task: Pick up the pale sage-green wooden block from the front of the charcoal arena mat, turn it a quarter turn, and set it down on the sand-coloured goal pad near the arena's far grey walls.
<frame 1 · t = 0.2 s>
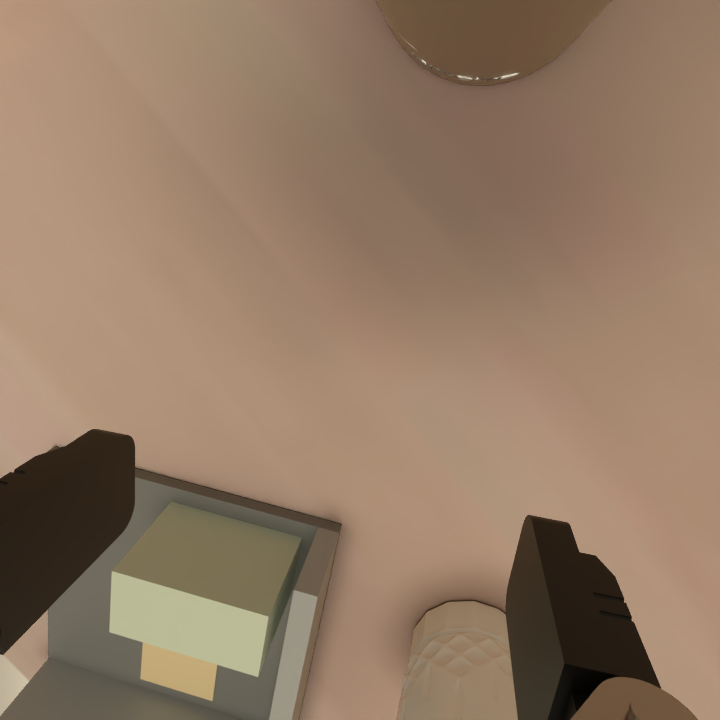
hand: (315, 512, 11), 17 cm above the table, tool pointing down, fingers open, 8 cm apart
white cup: (468, 641, 34), on the table
sage block: (232, 546, 33), point 1 cm above the table, touching arena
arena: (183, 600, 36), on the table
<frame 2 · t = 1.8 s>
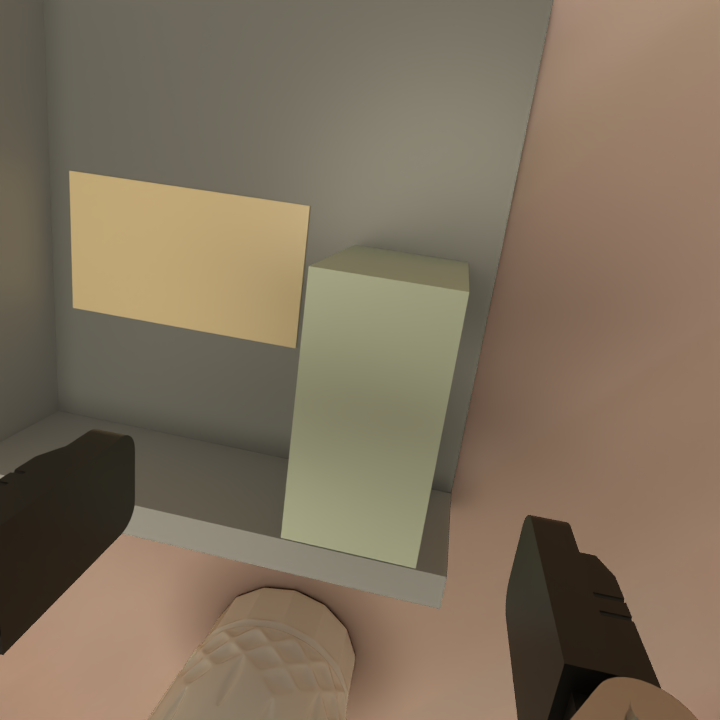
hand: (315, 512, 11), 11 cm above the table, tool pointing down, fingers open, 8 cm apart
white cup: (286, 642, 27), on the table
sage block: (393, 362, 21), point 1 cm above the table, touching arena
arena: (251, 253, 21), on the table
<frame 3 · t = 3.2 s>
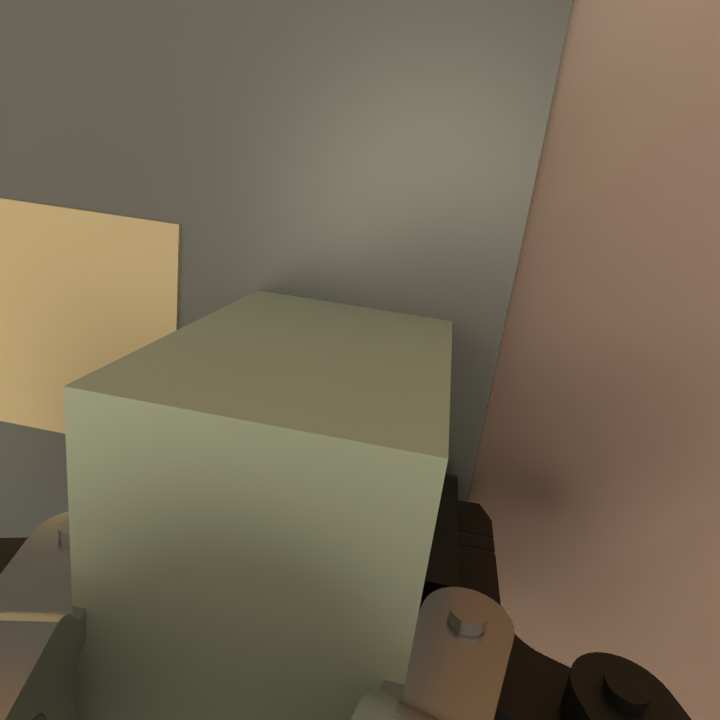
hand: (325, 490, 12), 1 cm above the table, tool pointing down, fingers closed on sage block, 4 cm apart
sage block: (331, 480, 12), point 1 cm above the table, touching arena, gripper
arena: (101, 300, 13), on the table
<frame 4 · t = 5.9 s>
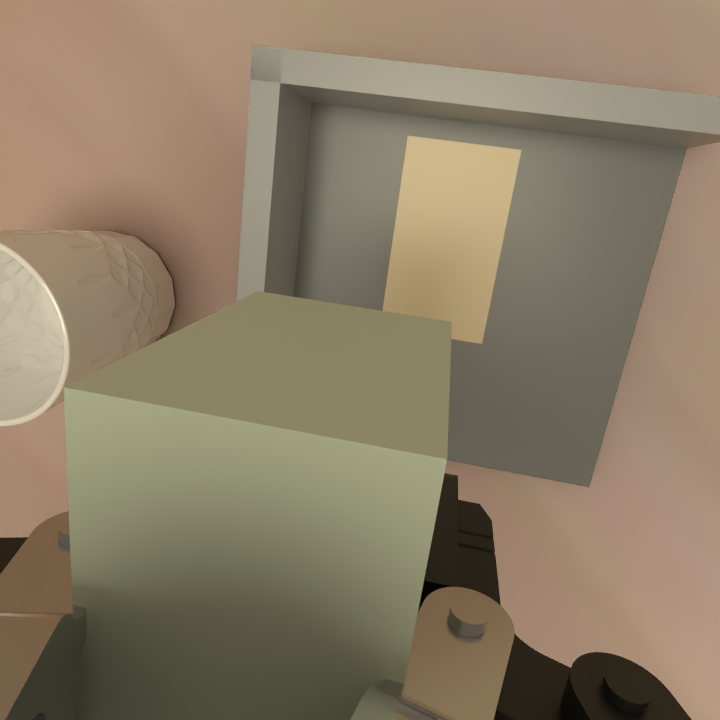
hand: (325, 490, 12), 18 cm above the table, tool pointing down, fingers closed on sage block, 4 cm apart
white cup: (122, 291, 32), on the table
sage block: (331, 480, 12), point 18 cm above the table, touching gripper
arena: (448, 289, 28), on the table
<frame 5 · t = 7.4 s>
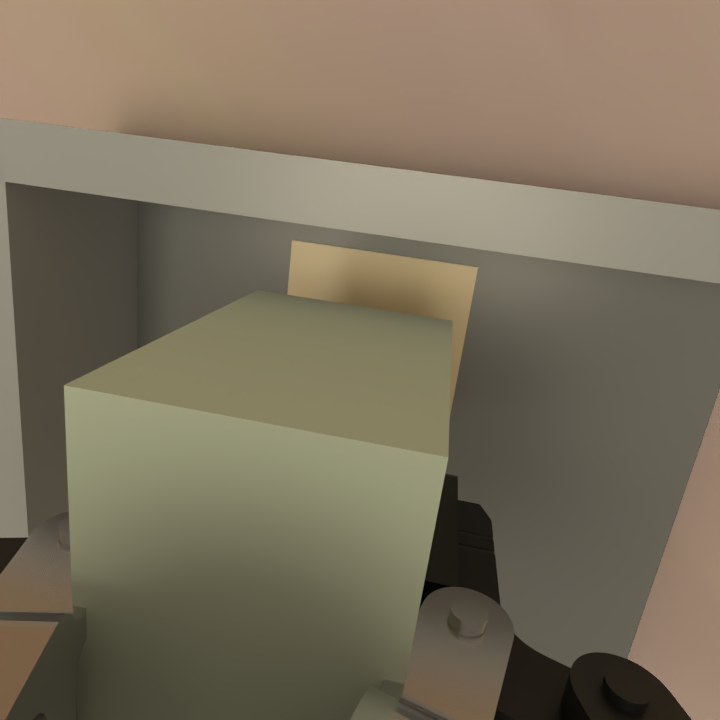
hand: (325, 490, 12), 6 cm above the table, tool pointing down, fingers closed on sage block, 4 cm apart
sage block: (331, 480, 12), point 5 cm above the table, touching gripper
arena: (372, 464, 18), on the table
when the fingers open (3 cm above the table, at t = 8.4 s): sage block drops 1 cm, resting on arena.
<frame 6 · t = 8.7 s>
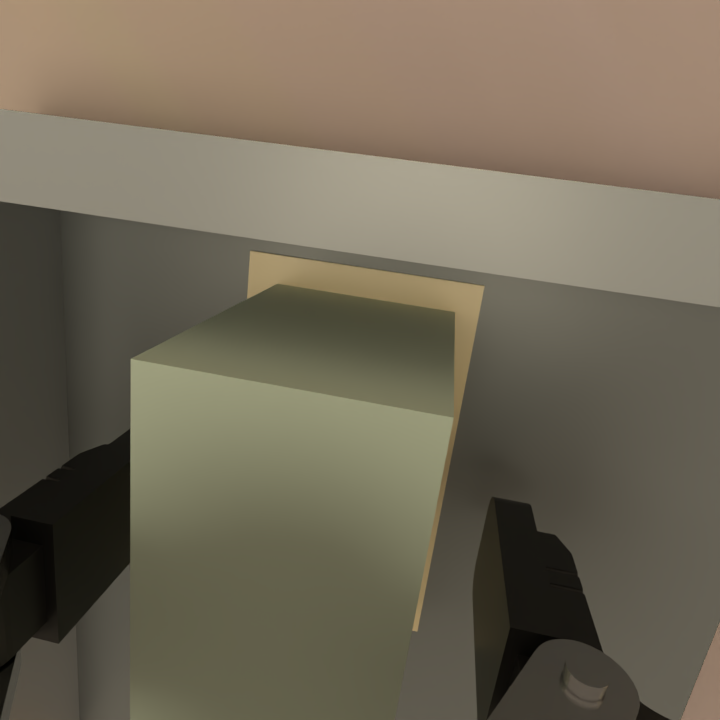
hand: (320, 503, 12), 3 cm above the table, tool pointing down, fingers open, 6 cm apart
sage block: (343, 458, 14), point 1 cm above the table, touching arena
arena: (355, 521, 15), on the table
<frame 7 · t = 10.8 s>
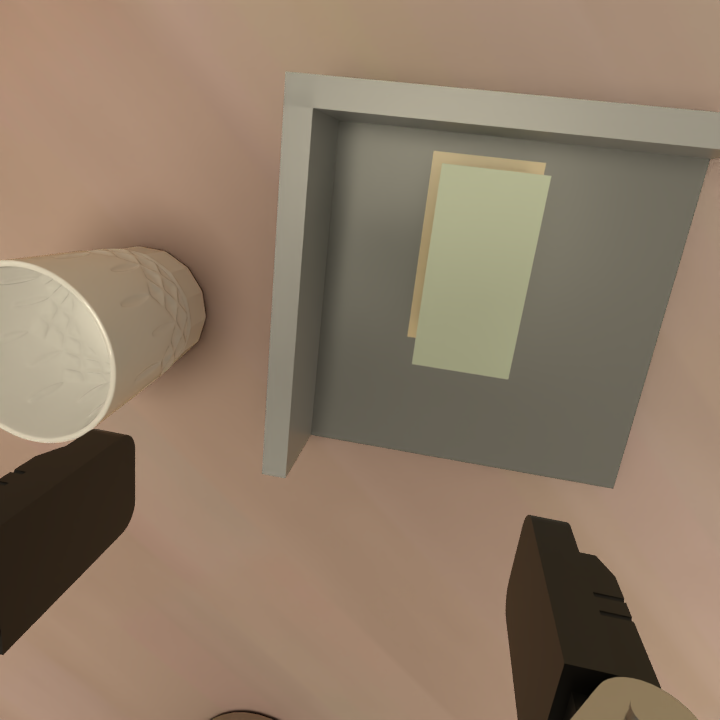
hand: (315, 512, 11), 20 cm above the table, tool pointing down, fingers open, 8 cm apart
white cup: (153, 304, 33), on the table
sage block: (473, 256, 28), point 1 cm above the table, touching arena
arena: (473, 298, 29), on the table
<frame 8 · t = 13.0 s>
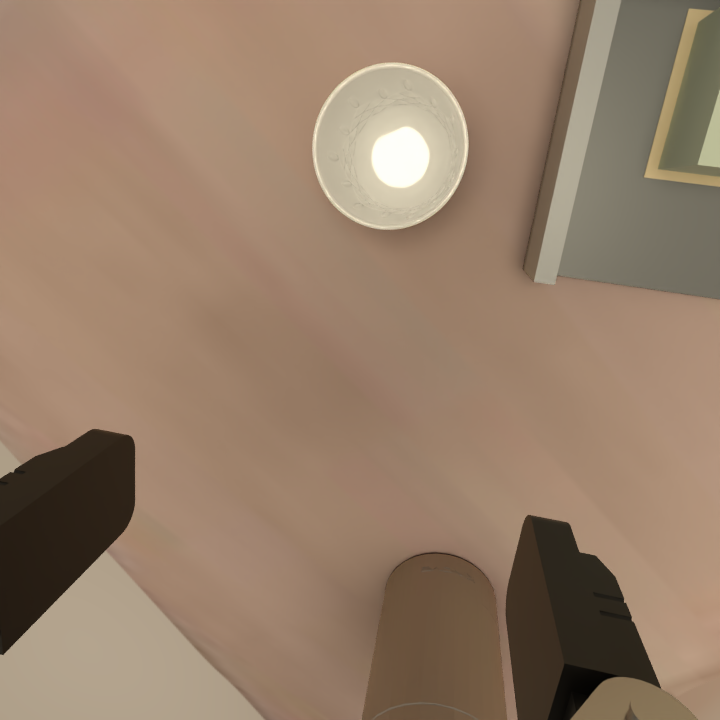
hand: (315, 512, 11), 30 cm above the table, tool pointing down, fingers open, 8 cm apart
white cup: (405, 160, 38), on the table
sage block: (712, 102, 33), point 1 cm above the table, touching arena
arena: (702, 145, 34), on the table
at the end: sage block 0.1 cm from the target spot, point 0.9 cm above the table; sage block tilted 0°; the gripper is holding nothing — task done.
